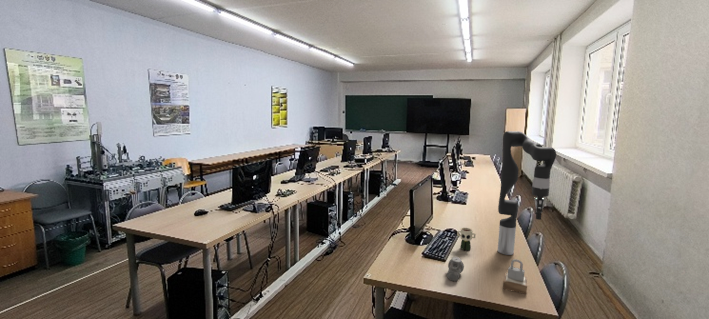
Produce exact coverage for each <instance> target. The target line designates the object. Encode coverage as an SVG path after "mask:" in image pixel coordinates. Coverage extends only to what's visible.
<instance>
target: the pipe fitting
mask: <svg viewBox="0 0 709 319" xmlns="http://www.w3.org/2000/svg"><path fill="white" fill-rule="evenodd" d="M447 267H448V270H447V273H446V277H447V279H448V280H449V281H450V282H456V281H458V280H459V279H460V278H459V277H460V274H462V273H463V271H464V267H465V265H464V262H462V259H461V258H460V257H458V256H453V257H451V259H449V261H448V265H447Z"/></svg>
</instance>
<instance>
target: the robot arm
mask: <svg viewBox="0 0 709 319" xmlns="http://www.w3.org/2000/svg"><path fill="white" fill-rule="evenodd" d="M512 147H513V148H516V147H517V148H519V147H521V148H522V150H523V151H524V152H525V153H526V154H529V155H530V156H531V159H532V160H533V161H537V162H543V163H542V164H540V165H535V167H534V173H533V180H532V186H531V187H532V188H531V195H532V196H535V197H534V206H535V212H534V214H535V219H536V220H538V221H541V220H542V214H543V209H544V204H545V199H544V198H547V197H549V196H550V184H551V182H550V179H551V178H550V177H551V172H552V171H551V170H552V168H553V165H554V163H555V161H556V158H557V151H556V149H555V148H554V147H552V146H551V147H549V146H543V145H541V144H540V143H538V142H536V141H534V140H532V139H531V138H530V137H528V136H527V134H525V133H524V132H522V131H520V130H514V131H513V130H511V131H510V130H507V131H504V133H503V136H502V164H501V174H500V176H501V177H500V192H499V199H498V206H497V210H498V211H497V212H498V213H499V214H500V215H503V216H504V215H505V216H509V217H507V218H501V219H500V220H499V226H498V240H497V241H498V242H497V253H500V254H503V255H504V256H505V255H507V256H512V255H514V252H515V245H516V231H517V230H516V229H517V218H518V210H519V203H518V201H517V200H512V199H511V200H510V199H506V197H507V195H508V193H509V191H510V190H511V189H512V188H513V187H514V186H515V185H516V183H517V182H518V181H519V180H518V179H519V166H518V165H517V163H516V161H515V159H514V157H513V155H512Z"/></svg>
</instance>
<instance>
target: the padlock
mask: <svg viewBox="0 0 709 319" xmlns="http://www.w3.org/2000/svg"><path fill="white" fill-rule="evenodd" d="M516 262H517V263H519V265H520V267H519V268H518V267H514V263H516ZM523 267H524V264H523V262H522V261H521V260H520V259H518V258H517V259H515V258H513V259H512V260H511V262H510V266H508V268H507V273H508V278H511V279H514V280H518V281H523V280H524V277H525V271H526V270H525V269H523Z"/></svg>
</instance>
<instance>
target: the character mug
mask: <svg viewBox="0 0 709 319" xmlns="http://www.w3.org/2000/svg"><path fill="white" fill-rule="evenodd" d="M456 233H457V235H456V236H458V237H460V240H461V242H460V246H459V247H460V249H461V250H465V251H470V250H471V247H472V246H471V241H472V239H476V233H474V232H473V229H472V228H470V227H461V228H460V230H457V232H456Z"/></svg>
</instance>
